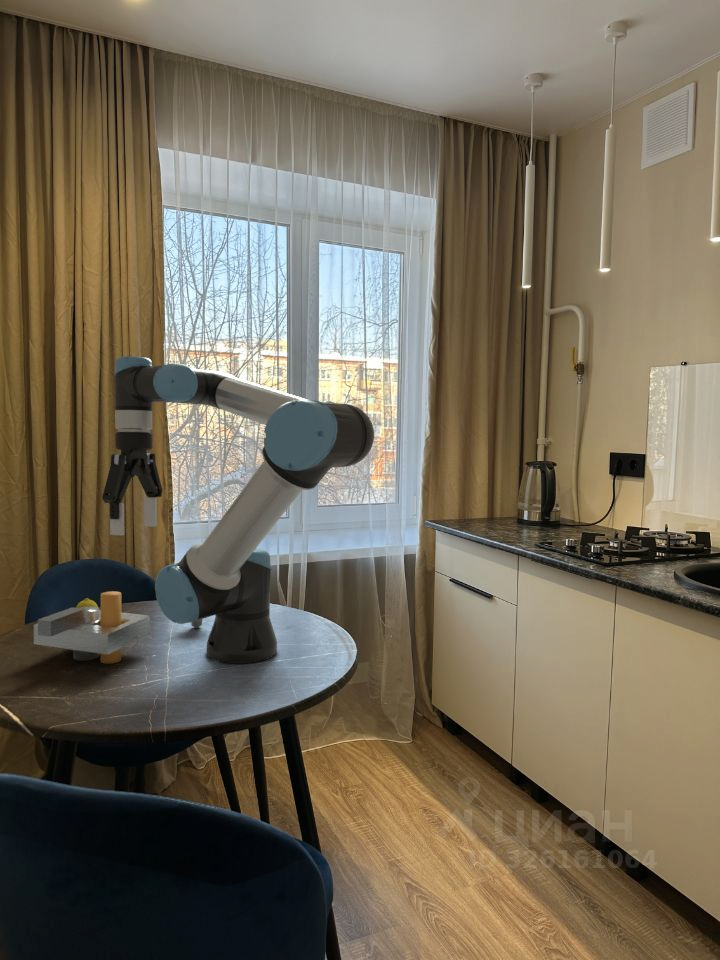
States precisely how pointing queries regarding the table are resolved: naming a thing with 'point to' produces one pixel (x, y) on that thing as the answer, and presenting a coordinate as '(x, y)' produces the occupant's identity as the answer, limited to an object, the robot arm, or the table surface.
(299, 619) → the table surface
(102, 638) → the gray rectangular tray
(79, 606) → the lemon
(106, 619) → the pin
